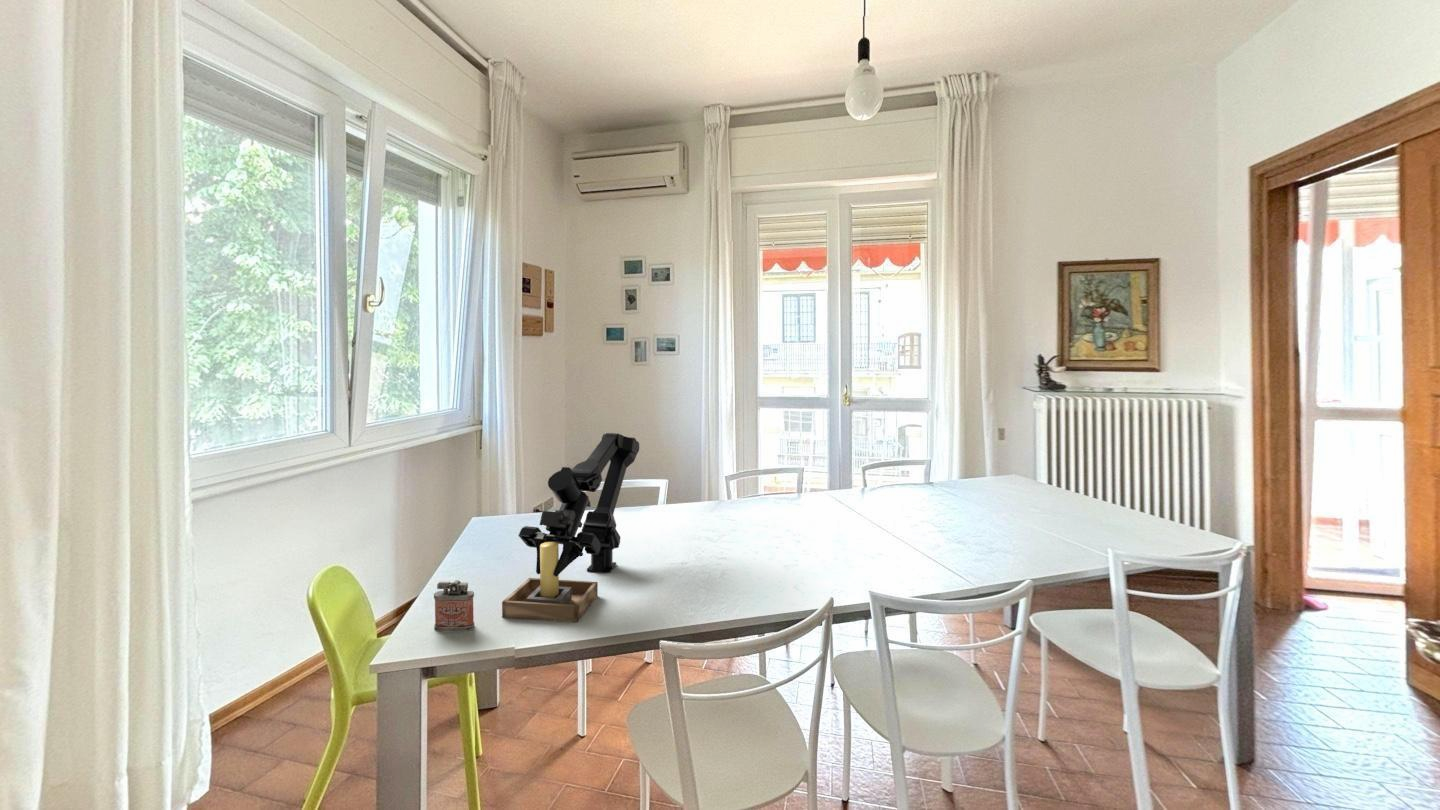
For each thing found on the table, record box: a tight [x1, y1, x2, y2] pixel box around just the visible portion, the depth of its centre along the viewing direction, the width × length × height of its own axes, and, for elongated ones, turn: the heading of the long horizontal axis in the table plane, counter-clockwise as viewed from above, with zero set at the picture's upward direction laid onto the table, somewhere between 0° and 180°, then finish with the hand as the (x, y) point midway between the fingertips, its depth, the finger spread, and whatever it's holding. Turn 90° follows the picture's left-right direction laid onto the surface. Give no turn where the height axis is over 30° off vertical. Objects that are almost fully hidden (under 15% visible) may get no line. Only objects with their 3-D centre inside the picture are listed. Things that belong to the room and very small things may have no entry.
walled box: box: [501, 577, 599, 623], centre depth 133 cm, size 14×17×4 cm
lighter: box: [433, 579, 475, 632], centre depth 121 cm, size 8×3×10 cm, turn 92°
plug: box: [539, 542, 560, 598], centre depth 131 cm, size 4×4×13 cm
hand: (546, 574), depth 130 cm, fingers closed on plug, 4 cm apart
